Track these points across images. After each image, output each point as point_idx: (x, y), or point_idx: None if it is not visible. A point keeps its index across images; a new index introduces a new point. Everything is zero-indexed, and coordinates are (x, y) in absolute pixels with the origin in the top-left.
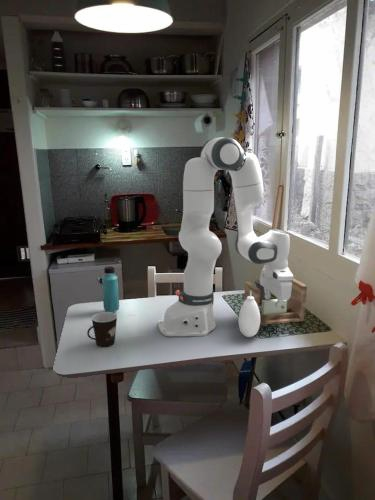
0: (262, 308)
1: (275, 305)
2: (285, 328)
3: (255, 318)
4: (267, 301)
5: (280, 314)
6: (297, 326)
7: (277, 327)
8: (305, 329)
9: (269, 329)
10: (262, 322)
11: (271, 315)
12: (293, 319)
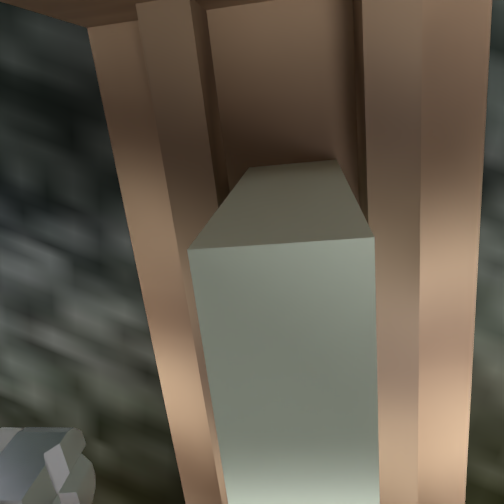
0: (297, 191)
1: (55, 436)
2: (49, 335)
3: None
4: (256, 357)
5: None
6: (96, 455)
7: (70, 265)
8: None
9: (15, 155)
10: (127, 109)
11: None
12: (193, 487)
